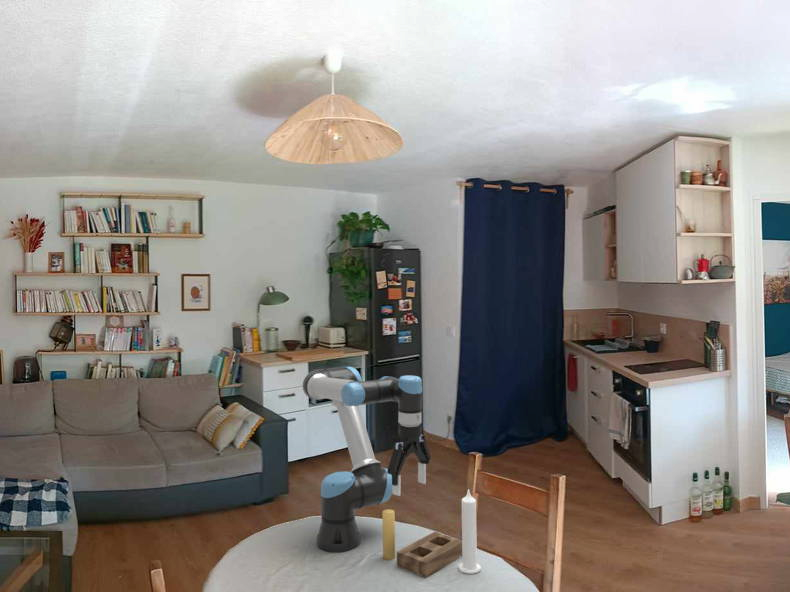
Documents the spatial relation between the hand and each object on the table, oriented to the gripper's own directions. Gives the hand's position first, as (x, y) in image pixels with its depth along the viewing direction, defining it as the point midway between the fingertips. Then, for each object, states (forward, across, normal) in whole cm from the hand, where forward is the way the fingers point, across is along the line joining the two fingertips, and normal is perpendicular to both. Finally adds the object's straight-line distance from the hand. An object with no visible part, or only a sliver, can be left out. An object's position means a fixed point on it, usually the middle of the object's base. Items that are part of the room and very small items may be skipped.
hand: (409, 488), depth 187 cm
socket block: (+23, +3, -6) cm, 24 cm away
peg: (+23, -3, +6) cm, 24 cm away
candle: (+23, +6, -20) cm, 31 cm away
